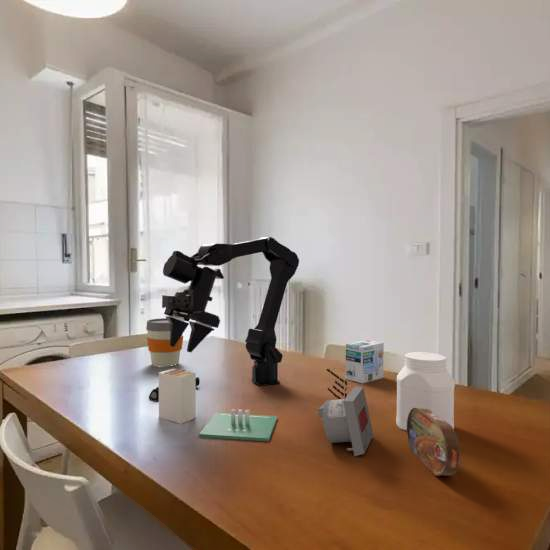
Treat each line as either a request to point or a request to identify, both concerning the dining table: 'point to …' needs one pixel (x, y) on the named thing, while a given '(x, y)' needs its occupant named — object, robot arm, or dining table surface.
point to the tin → (433, 441)
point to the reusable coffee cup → (162, 343)
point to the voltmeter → (347, 418)
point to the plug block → (177, 395)
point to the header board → (239, 426)
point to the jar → (425, 387)
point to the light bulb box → (364, 361)
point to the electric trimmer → (155, 392)
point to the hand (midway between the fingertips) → (180, 349)
